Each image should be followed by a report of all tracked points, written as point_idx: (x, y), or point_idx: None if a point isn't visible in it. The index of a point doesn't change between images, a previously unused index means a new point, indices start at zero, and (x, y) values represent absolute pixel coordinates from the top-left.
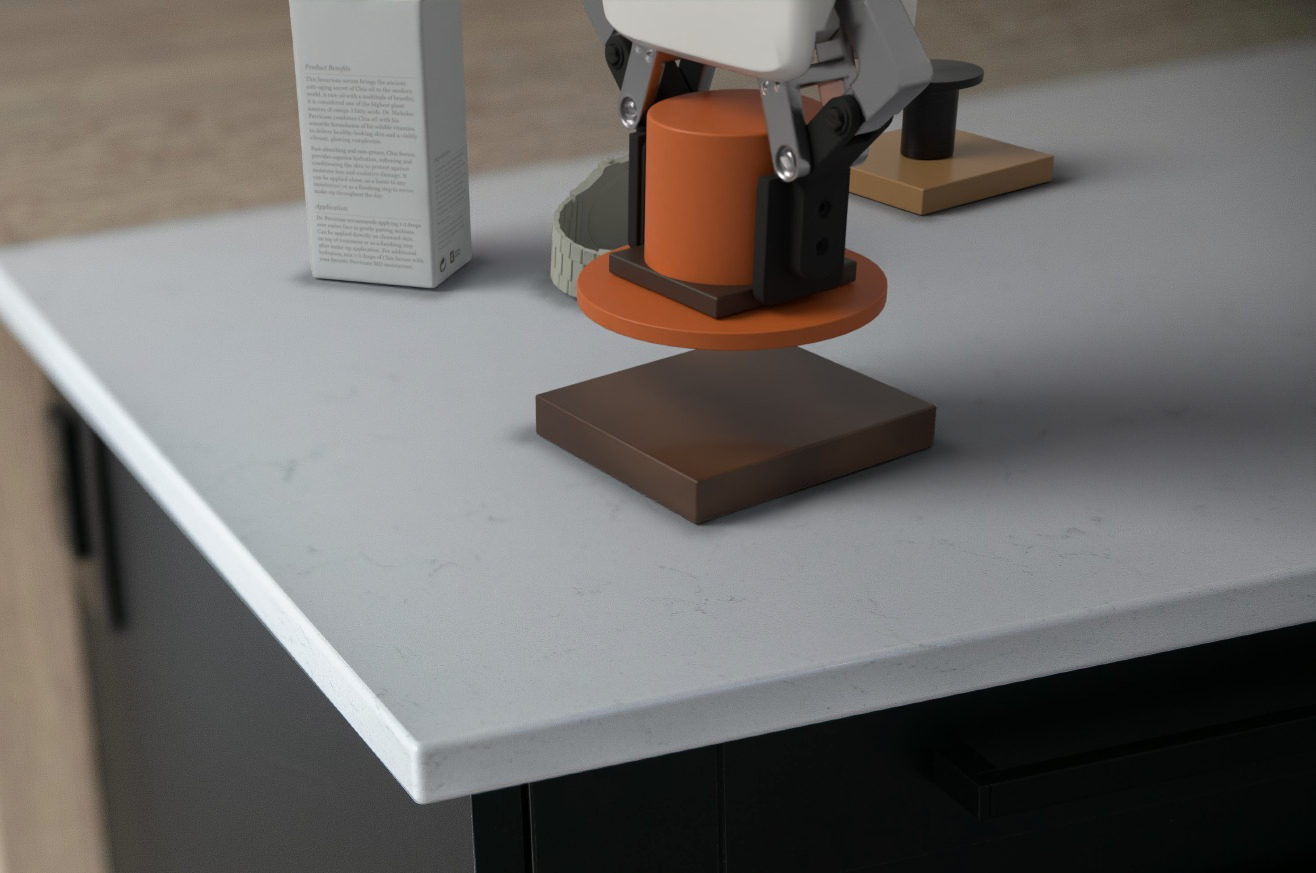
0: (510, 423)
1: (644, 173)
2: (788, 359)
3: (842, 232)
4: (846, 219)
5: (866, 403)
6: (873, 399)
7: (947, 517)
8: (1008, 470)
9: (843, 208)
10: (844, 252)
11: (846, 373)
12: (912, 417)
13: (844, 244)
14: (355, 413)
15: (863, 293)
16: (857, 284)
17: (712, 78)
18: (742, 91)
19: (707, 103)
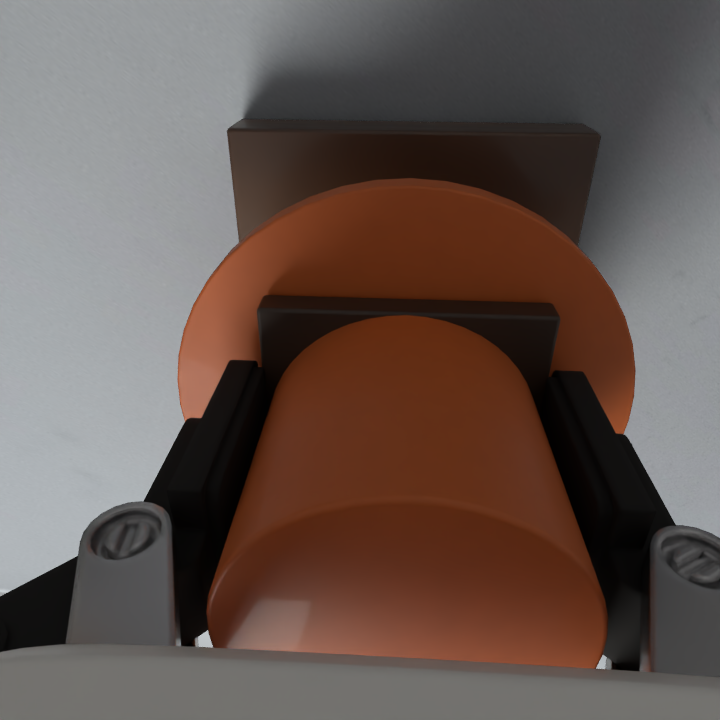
0: None
1: None
2: (343, 178)
3: (641, 463)
4: (612, 430)
5: (526, 205)
6: (525, 190)
7: (705, 251)
8: (700, 98)
9: (658, 496)
10: (595, 395)
11: (436, 153)
12: (591, 181)
13: (597, 402)
14: (137, 495)
15: (593, 325)
16: (557, 302)
17: (172, 584)
18: (275, 563)
19: (311, 646)
